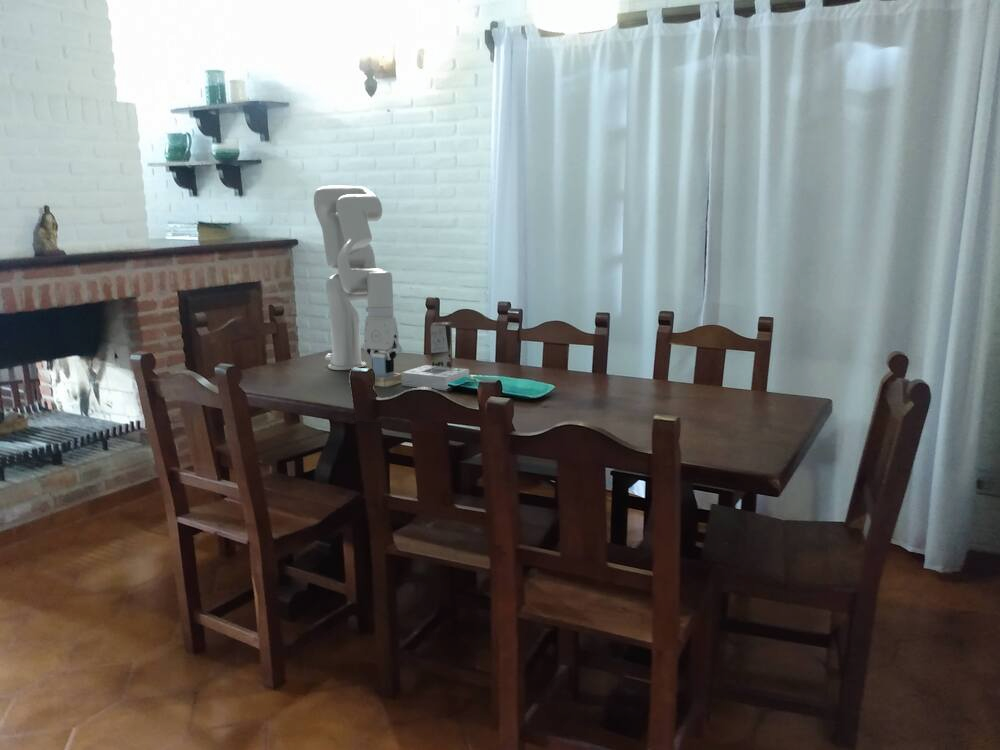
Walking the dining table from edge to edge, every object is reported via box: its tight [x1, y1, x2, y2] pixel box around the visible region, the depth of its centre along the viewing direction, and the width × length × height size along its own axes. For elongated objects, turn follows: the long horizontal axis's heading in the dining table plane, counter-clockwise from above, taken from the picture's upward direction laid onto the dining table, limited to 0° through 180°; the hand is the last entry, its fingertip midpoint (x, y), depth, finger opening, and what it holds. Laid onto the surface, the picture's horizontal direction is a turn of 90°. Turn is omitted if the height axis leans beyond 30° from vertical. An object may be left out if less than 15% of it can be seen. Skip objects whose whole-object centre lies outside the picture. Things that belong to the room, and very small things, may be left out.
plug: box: [371, 350, 394, 378], centre depth 233 cm, size 4×4×9 cm
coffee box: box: [429, 321, 454, 368], centre depth 248 cm, size 9×6×16 cm
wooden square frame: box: [374, 372, 402, 388], centre depth 234 cm, size 9×9×2 cm
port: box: [400, 364, 470, 391], centre depth 232 cm, size 16×13×4 cm
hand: (383, 370), depth 234 cm, fingers closed on plug, 4 cm apart
